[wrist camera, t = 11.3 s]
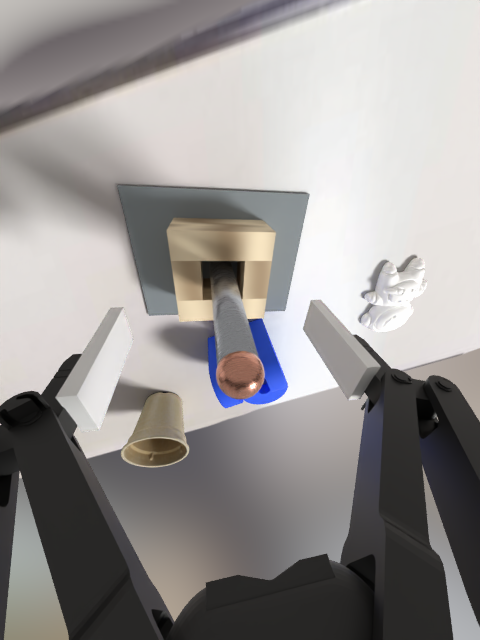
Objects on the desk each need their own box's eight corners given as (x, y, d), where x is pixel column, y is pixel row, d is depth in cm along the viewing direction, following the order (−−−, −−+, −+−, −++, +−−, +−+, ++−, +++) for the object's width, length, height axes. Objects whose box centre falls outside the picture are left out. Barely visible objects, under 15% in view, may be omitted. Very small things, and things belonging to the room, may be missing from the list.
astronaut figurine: (435, 253, 28) (457, 262, 26) (399, 324, 35) (414, 336, 33) (373, 260, 28) (390, 270, 25) (350, 331, 35) (361, 344, 32)
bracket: (208, 337, 31) (209, 389, 24) (261, 316, 30) (279, 364, 23) (248, 399, 42) (257, 448, 35) (288, 385, 41) (306, 432, 34)
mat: (149, 314, 27) (148, 315, 27) (118, 184, 19) (117, 185, 19) (284, 309, 30) (285, 310, 29) (308, 193, 22) (309, 194, 21)
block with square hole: (183, 297, 26) (179, 321, 22) (173, 217, 21) (166, 230, 17) (254, 295, 27) (263, 318, 23) (262, 220, 22) (275, 232, 18)
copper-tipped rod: (208, 272, 25) (217, 412, 11) (207, 250, 23) (217, 380, 9) (230, 272, 25) (266, 407, 11) (231, 250, 24) (273, 375, 10)
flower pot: (148, 378, 34) (134, 433, 27) (200, 392, 38) (200, 443, 31) (128, 409, 38) (112, 464, 31) (177, 419, 42) (172, 469, 35)
